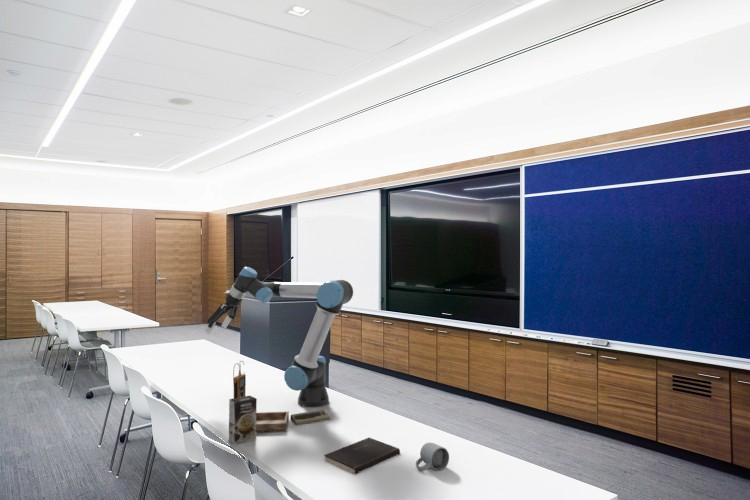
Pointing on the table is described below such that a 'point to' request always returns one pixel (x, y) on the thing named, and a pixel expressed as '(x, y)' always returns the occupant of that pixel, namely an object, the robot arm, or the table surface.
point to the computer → (309, 417)
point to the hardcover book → (362, 455)
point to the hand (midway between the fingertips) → (215, 329)
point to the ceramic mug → (433, 457)
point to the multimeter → (239, 384)
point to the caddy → (271, 421)
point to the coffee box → (242, 419)
